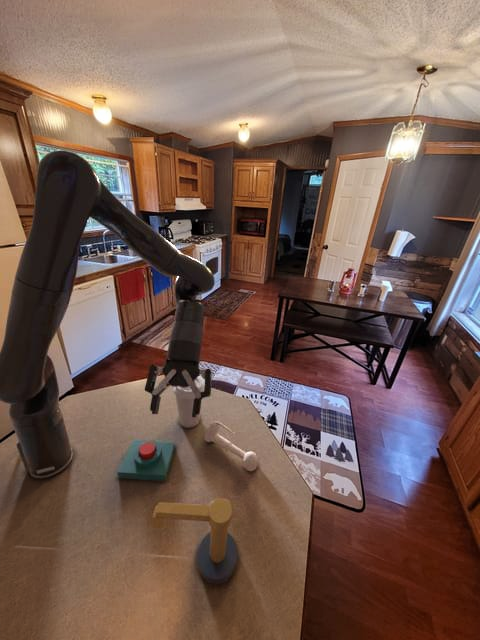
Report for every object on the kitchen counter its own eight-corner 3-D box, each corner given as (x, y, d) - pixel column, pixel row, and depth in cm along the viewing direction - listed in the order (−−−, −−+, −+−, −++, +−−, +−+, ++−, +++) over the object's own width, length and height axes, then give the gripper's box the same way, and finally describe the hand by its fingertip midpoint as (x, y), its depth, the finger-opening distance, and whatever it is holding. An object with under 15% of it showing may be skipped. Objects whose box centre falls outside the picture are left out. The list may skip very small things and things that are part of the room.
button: (137, 458, 66) (136, 454, 66) (143, 445, 70) (142, 441, 69) (152, 459, 66) (152, 455, 66) (157, 446, 70) (157, 442, 69)
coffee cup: (169, 418, 84) (167, 381, 79) (193, 405, 91) (193, 370, 85) (184, 436, 78) (183, 398, 72) (209, 421, 84) (210, 385, 78)
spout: (231, 514, 49) (232, 498, 47) (230, 540, 45) (231, 524, 43) (158, 509, 49) (157, 493, 47) (151, 535, 45) (149, 518, 43)
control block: (118, 478, 65) (116, 467, 63) (134, 445, 74) (132, 435, 73) (165, 481, 65) (164, 470, 63) (175, 447, 74) (174, 437, 73)
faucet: (245, 482, 71) (258, 465, 66) (201, 437, 77) (210, 419, 72) (252, 471, 74) (266, 454, 69) (209, 429, 80) (218, 410, 75)
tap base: (194, 583, 48) (194, 544, 43) (200, 533, 55) (201, 495, 50) (236, 586, 48) (241, 547, 43) (237, 536, 55) (241, 498, 50)
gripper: (150, 336, 57) (135, 413, 51) (214, 340, 56) (205, 418, 51) (160, 345, 64) (147, 413, 58) (216, 349, 63) (209, 418, 58)
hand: (174, 415), depth 54 cm, fingers open, 8 cm apart
